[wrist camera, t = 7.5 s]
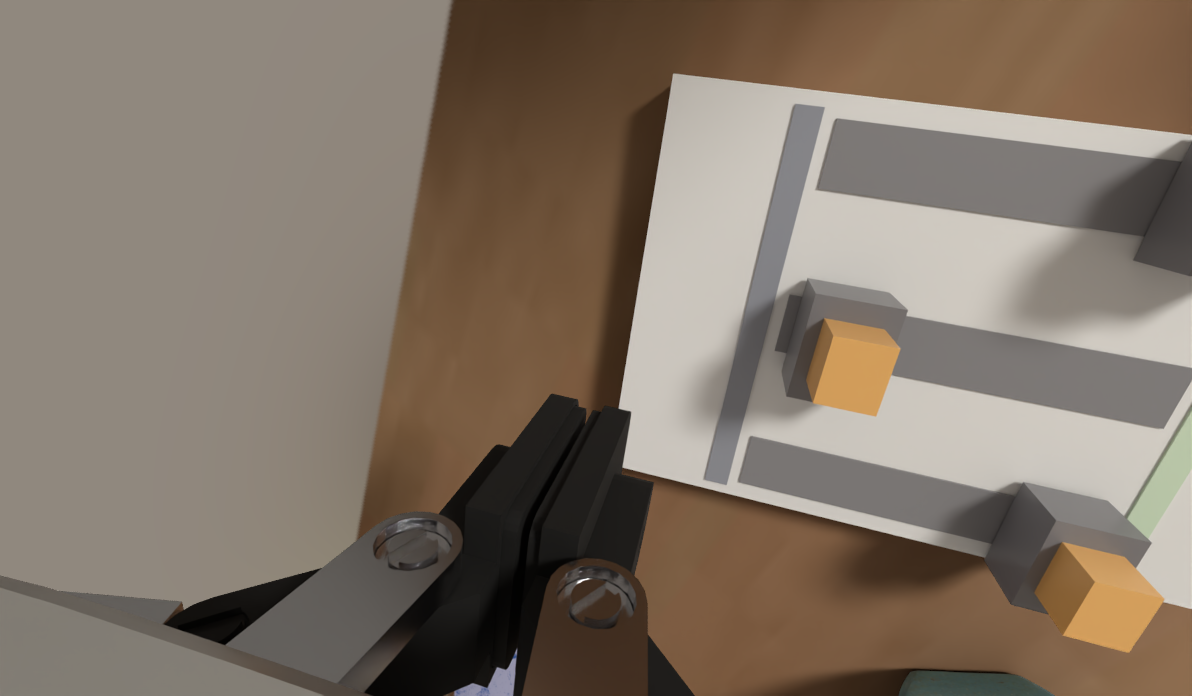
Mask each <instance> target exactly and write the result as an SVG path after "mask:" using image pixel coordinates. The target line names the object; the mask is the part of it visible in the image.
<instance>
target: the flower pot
mask: <svg viewBox="0 0 1192 696" xmlns="http://www.w3.org/2000/svg"><path fill="white" fill-rule="evenodd" d="M898 696H1055V695H1053V694H1051V693H1050V692H1048V691H1047V690H1045V689H1043V688H1042V687H1040V686H1038V685H1036V684H1034V683H1033V682H1031V681H1029V680H1027V679H1025V678H1023V677H1021V676H1018V675H1014V674H994V673H963V672H943V671H912V672H910V673H909V674H908V676H907V677H906V679H905V681H904V683H903V684H902V687H901V689H900V692H899V695H898Z"/></svg>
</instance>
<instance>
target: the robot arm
mask: <svg viewBox="0 0 1192 696" xmlns="http://www.w3.org/2000/svg"><path fill="white" fill-rule="evenodd" d="M578 406H579V405H578V399H573V398H569V397H564V396H560V395H555V394H551V395H550V396H549V397H548V399H547V400H546V401H545V403H544V404H543V405H542V407H541V408H540V409H539V410H538V412H537V413H536V414H535V416H534V417H533V418H532V420H531V421H530V422H529V424H528V425H527V426H526V427H525V429H524V430H523V431H522V433H521V434H520V435H519V437H518V438H517V439H516V441H515V442H514V443H513V445H512V446H511V447H508V446H504V445H496V446H495V447H494V448H492V450H491V451H490V452H489V453H488V454H487V456H486V457H485V458H484V459H483V461H482V462H481V463H480V464H479V465H478V467H477V468H476V469H475V470H474V472H473V473H472V474H471V475H470V476H469V478H468V479H467V480H466V481H465V482H464V484H463V485H462V486H461V487H460V489H459V490H458V491H457V492H456V493H455V495H454V496H453V497H452V498H451V500H450V501H449V502H448V503H447V504H446V506H445V507H444V508H443V509H442V510H441V512H440V513H439V514H435V513H432V512H409V513H403V514H399V515H396V516H393V517H390V518H388V519H386V520H384V521H383V522H381V523H379V524H378V525H376V526H375V527H373V528H372V529H371V530H370V531H368V532H367V533H366V534H365V535H363V536H362V537H361V538H359V539H358V540H357V541H356V542H354V543H353V544H352V545H351V546H350V547H348V548H347V549H346V550H344V551H343V552H342V553H341V554H340V555H338V556H337V557H336V558H334V559H333V560H332V561H331V562H329V563H328V564H327V565H326V566H324V567H323V568H320V569H317V570H313V571H309V572H306V573H302V574H298V575H294V576H291V577H287V578H283V579H279V580H276V581H272V582H268V583H265V584H261V585H257V586H254V587H250V588H246V589H243V590H239V591H235V592H231V593H228V594H224V595H220V596H217V597H213V598H210V599H208V600H205V601H202V602H199V603H196V604H194V605H192V606H190V607H188V608H187V609H185V610H184V609H183V604H182V602H179V601H167V600H155V599H145V598H134V597H122V596H110V595H99V594H88V593H77V592H65V591H57V590H54V589H51V588H47V587H44V586H39V585H36V584H32V583H28V582H23V581H20V580H16V579H12V578H8V577H4V576H0V696H455V691H456V690H459V689H461V688H463V687H466V686H468V685H470V684H476V685H479V686H482V687H485V688H488V686H489V684H490V682H491V680H492V677H493V675H494V673H495V671H496V669H497V667H498V668H501V669H504V670H507V669H508V667H509V665H510V663H511V661H512V659H513V657H514V654H515V652H516V650H517V656H516V666H515V681H514V690H513V696H694V694H693V693H692V692H691V690H690V689H689V688H688V686H687V685H686V684H685V682H684V681H683V680H682V679H681V677H680V676H679V675H678V673H677V672H676V671H675V669H674V668H673V667H672V665H671V664H670V663H669V662H668V660H667V659H666V658H665V656H664V655H663V654H662V652H661V651H660V650H659V648H658V647H657V646H656V645H655V643H654V642H653V641H652V639H651V638H650V637H649V635H648V603H647V598H646V593H645V590H644V588H643V587H642V585H641V583H640V582H639V580H638V579H637V578H636V577H635V576H634V574H635V570H636V566H637V562H638V557H639V553H640V549H641V544H642V540H643V535H644V530H645V525H646V521H647V516H648V511H649V505H650V500H651V495H652V490H653V484H654V482H650V481H646V480H642V479H638V478H634V477H630V476H626V475H622V474H621V473H622V467H623V461H624V455H625V450H626V444H627V438H628V432H629V426H630V420H631V411H627V410H622V409H618V408H613V407H609V406H604V408H603V410H602V412H599V411H595V410H593V411H592V413H591V415H590V417H589V418H588V420H587V422H586V424H585V420H586V408H582V407H578Z"/></svg>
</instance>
